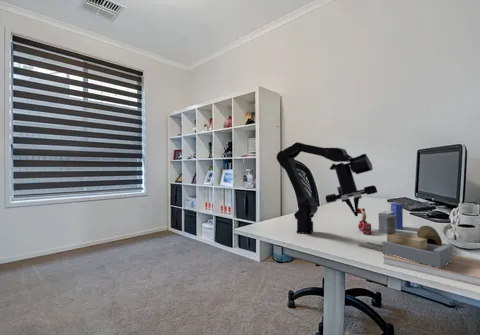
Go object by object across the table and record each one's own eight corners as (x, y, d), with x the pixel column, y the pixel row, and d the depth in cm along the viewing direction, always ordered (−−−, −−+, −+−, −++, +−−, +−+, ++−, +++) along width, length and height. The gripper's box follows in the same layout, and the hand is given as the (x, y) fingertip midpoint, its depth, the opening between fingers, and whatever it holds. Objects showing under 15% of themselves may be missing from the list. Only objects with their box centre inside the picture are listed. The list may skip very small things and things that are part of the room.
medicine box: (389, 233, 110) (389, 213, 110) (378, 231, 114) (378, 212, 114) (395, 230, 115) (395, 211, 115) (384, 229, 119) (384, 210, 119)
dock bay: (356, 246, 92) (356, 232, 92) (370, 242, 98) (370, 229, 98) (439, 268, 71) (439, 251, 71) (452, 261, 77) (451, 245, 77)
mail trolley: (386, 251, 85) (385, 217, 85) (394, 248, 89) (394, 215, 89) (420, 260, 77) (419, 222, 77) (428, 256, 80) (427, 220, 80)
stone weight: (413, 240, 101) (413, 223, 101) (435, 242, 98) (435, 225, 98) (420, 251, 87) (420, 231, 87) (446, 254, 84) (446, 234, 84)
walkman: (402, 229, 117) (402, 203, 117) (396, 229, 118) (396, 203, 118) (395, 225, 125) (395, 201, 125) (389, 225, 126) (389, 201, 126)
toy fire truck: (364, 234, 109) (363, 212, 109) (356, 227, 122) (355, 207, 122) (372, 235, 108) (372, 212, 108) (363, 227, 122) (363, 207, 122)
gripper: (369, 174, 106) (381, 211, 102) (324, 184, 113) (333, 220, 109) (370, 170, 96) (383, 211, 92) (321, 182, 103) (331, 220, 99)
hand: (356, 216), depth 98 cm, fingers closed
